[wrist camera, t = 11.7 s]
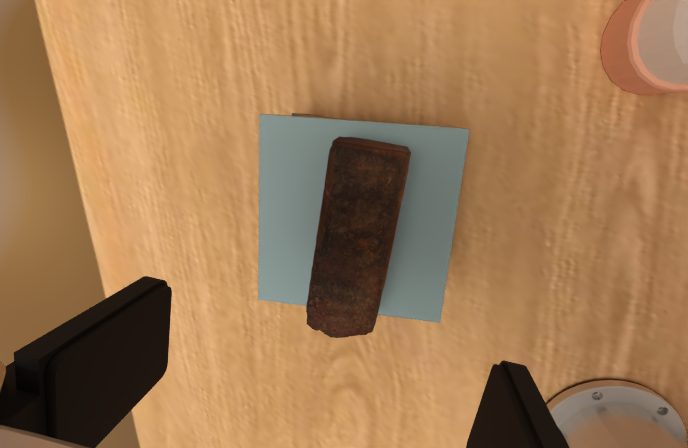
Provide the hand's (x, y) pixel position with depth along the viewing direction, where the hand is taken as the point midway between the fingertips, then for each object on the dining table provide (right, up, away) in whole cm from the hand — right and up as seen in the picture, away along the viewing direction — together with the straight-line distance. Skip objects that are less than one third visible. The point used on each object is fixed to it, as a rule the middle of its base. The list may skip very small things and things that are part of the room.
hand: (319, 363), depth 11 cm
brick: (+2, +4, +13) cm, 13 cm away
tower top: (+2, +5, +17) cm, 18 cm away
